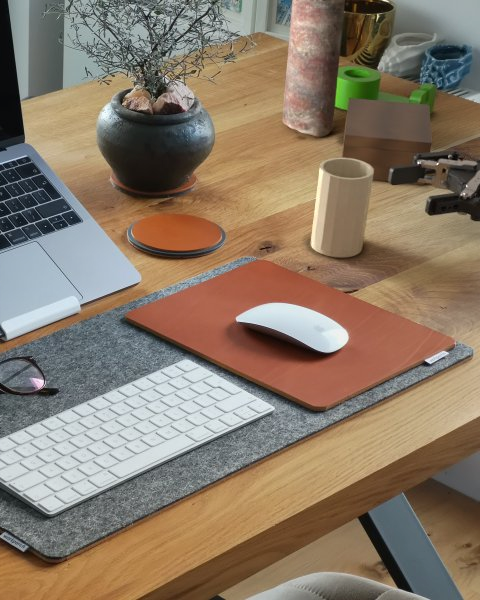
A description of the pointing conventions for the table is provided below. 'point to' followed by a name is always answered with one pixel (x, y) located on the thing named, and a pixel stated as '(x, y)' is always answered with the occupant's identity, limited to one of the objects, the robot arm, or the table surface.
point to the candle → (313, 65)
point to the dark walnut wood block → (386, 134)
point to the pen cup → (341, 207)
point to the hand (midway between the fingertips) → (408, 190)
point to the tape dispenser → (375, 88)
